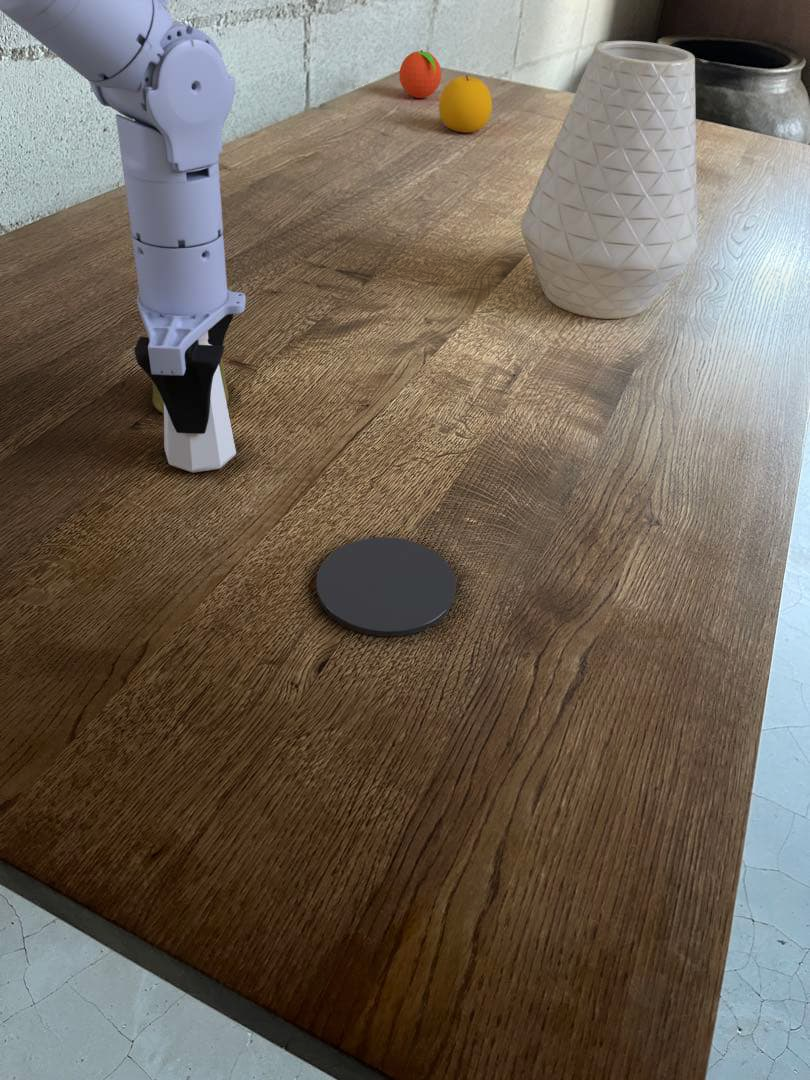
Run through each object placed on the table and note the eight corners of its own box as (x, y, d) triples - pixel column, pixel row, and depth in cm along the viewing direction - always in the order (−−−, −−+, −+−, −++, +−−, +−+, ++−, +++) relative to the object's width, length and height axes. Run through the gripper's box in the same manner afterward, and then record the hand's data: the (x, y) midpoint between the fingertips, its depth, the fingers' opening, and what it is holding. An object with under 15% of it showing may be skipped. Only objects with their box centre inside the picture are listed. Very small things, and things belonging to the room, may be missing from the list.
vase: (590, 349, 86) (644, 83, 72) (479, 279, 97) (506, 36, 83) (715, 312, 94) (787, 66, 80) (600, 252, 105) (644, 25, 91)
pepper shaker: (173, 431, 71) (156, 298, 64) (242, 435, 71) (233, 303, 64) (155, 471, 67) (136, 333, 60) (229, 476, 67) (218, 339, 60)
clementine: (451, 102, 152) (455, 55, 147) (415, 106, 149) (418, 58, 144) (424, 90, 157) (428, 44, 153) (390, 94, 154) (392, 46, 150)
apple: (463, 140, 136) (468, 85, 131) (426, 127, 140) (430, 73, 135) (499, 132, 140) (506, 78, 135) (463, 119, 144) (468, 67, 140)
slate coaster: (311, 634, 56) (311, 629, 55) (319, 540, 63) (319, 534, 62) (459, 638, 56) (460, 633, 56) (451, 544, 63) (452, 539, 63)
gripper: (225, 281, 53) (239, 474, 62) (253, 195, 64) (261, 368, 73) (101, 276, 53) (132, 470, 61) (151, 189, 64) (171, 364, 72)
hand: (196, 414), depth 67 cm, fingers closed on pepper shaker, 4 cm apart
